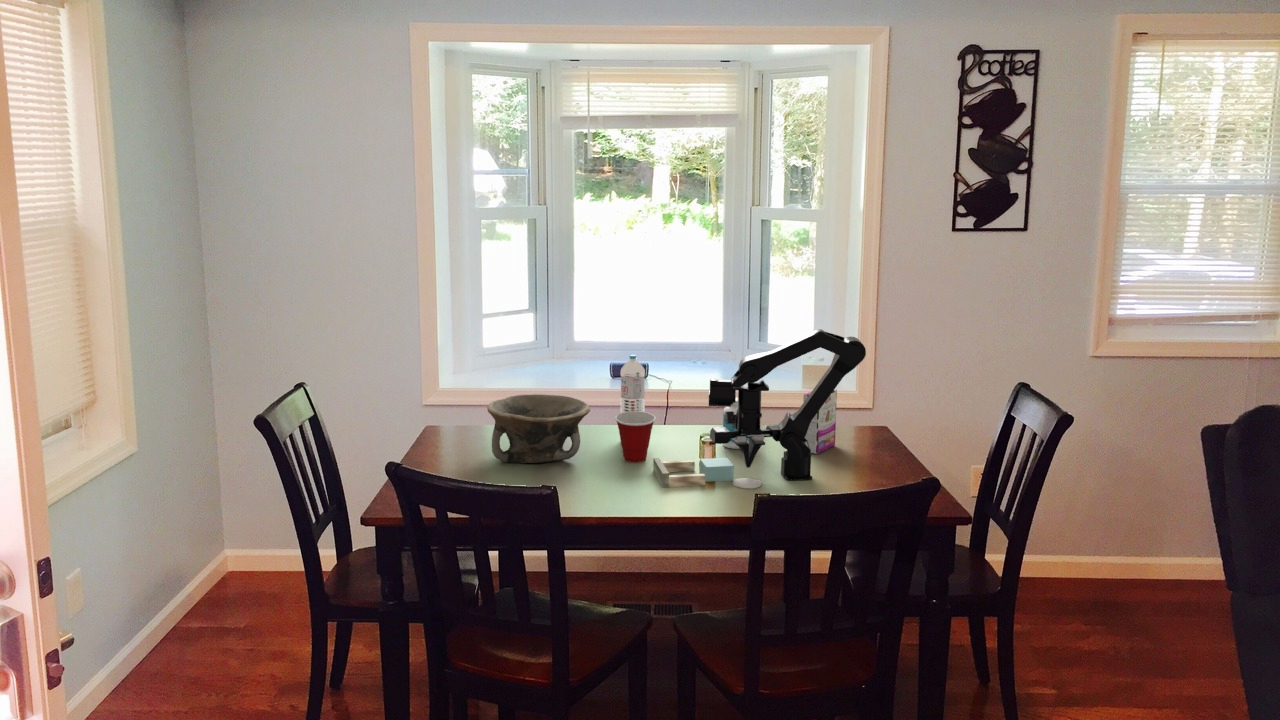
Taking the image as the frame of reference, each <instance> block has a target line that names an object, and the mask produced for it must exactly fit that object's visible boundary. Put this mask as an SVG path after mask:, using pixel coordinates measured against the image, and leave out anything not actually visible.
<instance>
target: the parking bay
mask: <svg viewBox="0 0 1280 720" xmlns="http://www.w3.org/2000/svg"><path fill="white" fill-rule="evenodd" d="M652 460H653V463H652V467H653V468H652V471H653V473H654V475H655V477H656V478H657V480H658V481H659V483H660V485H661V487H662V488H675V487H680V488H681V487H698V486H699V487H700V486H706V481H705V475H704V474H700V473H692V474H690V473H689V474H687V473H686V472H695V470H696V469H695V466H696V464H695V460H694V459H691V460H688V459H687V460H666V461H665V460H664V461H662V459H661V458H660V457H653V458H652ZM681 472H683V473H684V472H685V473H686V474H671V475H670V473H681Z"/></svg>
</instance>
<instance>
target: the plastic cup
mask: <svg viewBox="0 0 1280 720" xmlns="http://www.w3.org/2000/svg"><path fill="white" fill-rule="evenodd" d="M656 418H657V417H656V415H655V414H652V413H650V412H647V411H645V412H642V411H628V412H623V413H621V412H620V413H618V414H616V415H615V417H614V419H615V421H616V423H617V424H616V425H617V428H618V434H619V437H620V438H619V439H620V445H621V449H622V455H623V458H624V459H623V460H624V461H625V462H628V463H634V464H635V463H644V462H645V461H646V459H647V456H648V452H649V451H648V449H649V447H650V440H651V434H652V429H653V425H654V423H655V421H656Z"/></svg>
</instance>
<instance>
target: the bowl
mask: <svg viewBox="0 0 1280 720" xmlns="http://www.w3.org/2000/svg"><path fill="white" fill-rule="evenodd" d="M486 408H487V412H488V414H490V416H491V417H492V418H493V419H494V427H493V432H492V436H491V452H492V454H493V456H494V457H495V459H497V460H499V461H500V462H503V463H517V464H518V463H519V464H541V463H549V462H558V461H559V462H561V461H566V460H570V459H571V458H573V457H574V456H575V455H576V454H577V453H578V451H579V449H580V446H581V435H580V430H579V423H581V421H582V420H583V419H584V417H586V416H587V415H588V414H589V413H590V412H591V408H590V406H589V405H588V404H587V402H585V401H583V400H581V399H578V398H575V397H571V396H567V395H560V394H559V395H558V394H556V395H555V394H541V393H540V394H539V393H537V394H535V393H534V394H517V395H511V396H510V395H509V396H508V397H507V396H506V397H505V398H501V399H496V400H492V401H491V402H490V403H489V404H488V406H487V407H486ZM503 434H506V437H507V440H508V442H509V448H508V449H507V450H502V448H501V444H500V442H501V437H502V436H503ZM568 437H569V438H570V441H571V445H570V446H571V447H570V448H569V449H568V450H565V449H564V445H565V442H566V440H567V439H568Z"/></svg>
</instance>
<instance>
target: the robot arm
mask: <svg viewBox="0 0 1280 720" xmlns="http://www.w3.org/2000/svg"><path fill="white" fill-rule="evenodd" d="M820 348H821V349H823V350H826V351H829V352H830V353H832V354H834V355H833V358H832V360H831V364H830V366H829V367H828V369H826V372H825V373H824V374H823V375H822V377H821V378H820V379H819V381H818V382H817V383H816V385H815V387H814V388H813V389H812V391H810V392H811V393H810V395H809V396H808V397H807V399H806V400H805V402H804V401H803V403H802V404H801V405H800V407H799V409H798V410H797V411H795V412H794V413H792V414H791V413H790V412H788V411H787V412H786V414H785V415H784V416H783V417H784V418H782V420H781V421H780V422H779V423H778V424H775V425H774V424H773V425H772V424H771V425H767V426H766V427H765V429H761V420H762V417H763V413H762V392H769V390H770V387H769V385H768V384H766V383H767V382H765V381H764V379H763V378H764V377H765V376H767V375H768V374H770V373H771V372H772V371H773V370H774V369H776V368H777V367H779V366H782V365H784V364H786V363H788V362H791V361H793V360H794V359H797V358H799V357H800V358H801V357H802V356H804V355H806V354H808V353H810V352H813V351H815V350H817V349H820ZM866 355H867V351H866V347H865V345H864V344H863V342H862V341H861V340H860V339H859V338H857V337H855V336H847V337H844V336H842V335H838V334H835V333H832V332H827V331H825V330H823V329H819V328H818V329H814V330H813V331H812V332H810V333H807V334H806V335H804V336H801V337H799V338H797V339H795V340H792V341H790V342H788V343H786V344H783V345H782V346H778V347H777V348H774V349H772V350H768V351H765V352H759V353H758V352H757V353H754V354H750V355H747V356H745V357H743V358H741V360H740V362H739V364H738V370H737V371H736V372H735V373H734V374H733V375H732V377H731V378H730V379H717V378H711V379H710V380H709V390H708V407H717V408H718V407H722V408H723V407H724V408H725V407H731V405H733V403H735V399H736V397H738V409H737V414H736V415H734V412H733V411H731V412H725V423H726V424H732V428H735V429H737V431H729V430H728V429H727V428H726V427H723V426H722V427H721V426H720V427H718V426H717V427H712V428H711V429H710V431H709V439H710V440H711V441H712V442H713V443H714V444H716V445H718V444H719V445H720V444H722V445H723V444H725V443H728V442H729V441H730V440H731V439H732V441H733V442H734V443H735V444H736V445H737V446H739V448H740V449H739V450H740V452H741V456H742V459H743V463H744V466H745V468H747V469H748V468H751V466H752V464H753V462H754V460H755V457H756V455H757V454H758V451H759V450H760V449H761V447H762V446H765V445H766V442H765V441H764V439H765V438H772V439H773V440H774V441H775V442H779V444H780V445H781V447H782V448H783V449H785V451H783V457H781V460H780V461H781V463H780V464H781V465H780V474H781V475H782V476H783V477H784V476H785V477H786V478H787V479H789V480H788V481H794V480H793V479H806V480H813V479H812V478H814V477H813V476H812V474H811V472H812V471H811V469H812V467H811V466H812V453H810V452H811V449H810V446H809V443H808V441H807V440H806V439H805V436H806V434H807V431H808V428H809V426H810V423H811V421H812V419H813V418H814V417H815V415H816V414H817V413H818V411H819V410H820V408H821V407H822V406H823V404H824V403H825V402H826V400H827V399H828V397H829V396H830V395H831V393H832V392H833V391H834V389H836V388H837V387H838V385H839V384H840V382H841V381H842V380H843V378H844V377H846V376H847V374H849V373H850V372H852V371H853V370H854V369H855V368H856V367H858V366H859V365H860V364H861V363H862V362H863V361H864V360H865V357H866ZM758 381H759V382H758ZM737 391H738V392H737ZM736 392H737V393H738V394H737V393H736ZM736 395H737V396H736ZM741 434H744V435H741ZM746 438H748V443H749V444H748V443H747V442H746ZM785 477H784V478H785ZM786 478H785V479H786ZM787 479H786V480H787ZM791 479H792V480H791Z"/></svg>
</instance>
